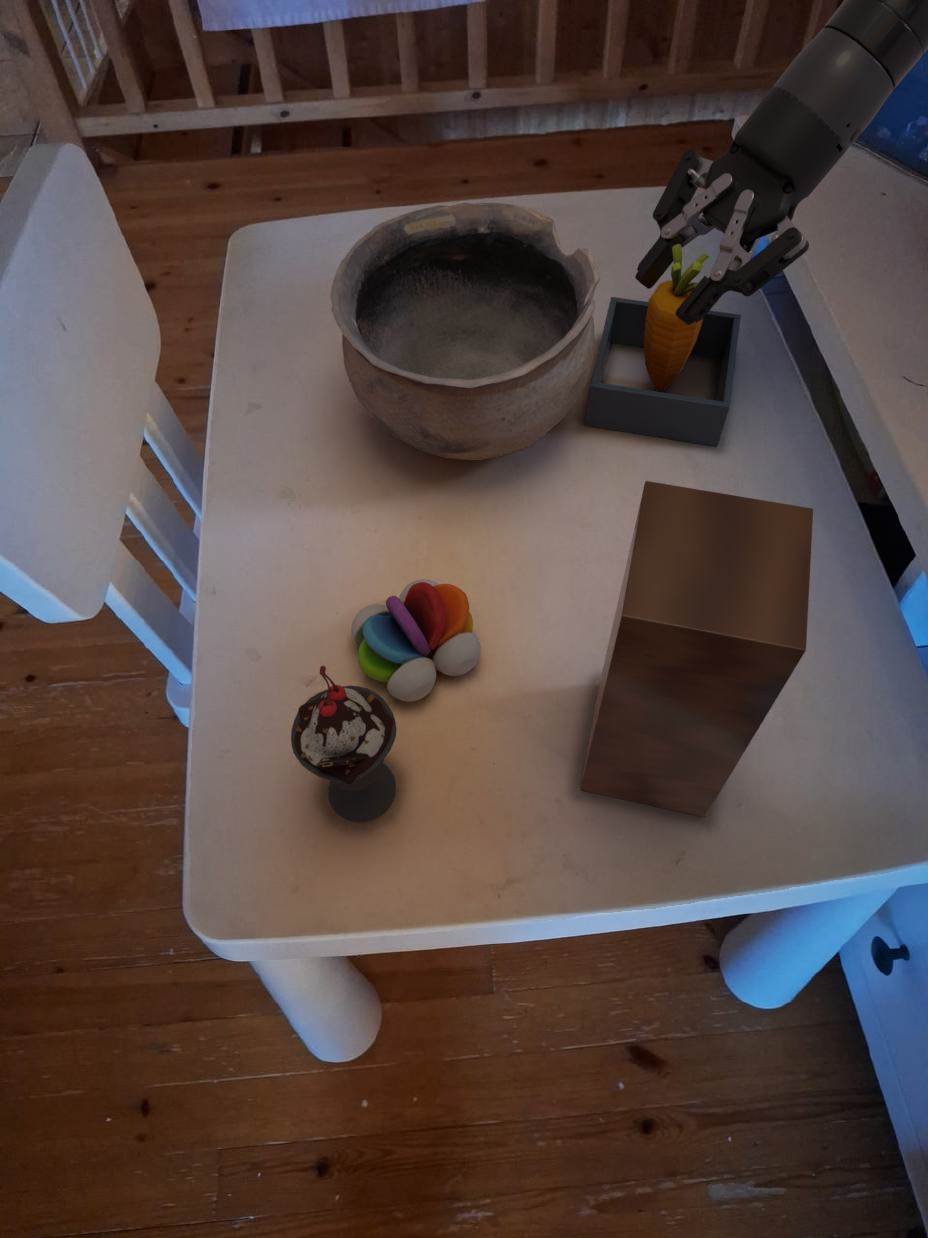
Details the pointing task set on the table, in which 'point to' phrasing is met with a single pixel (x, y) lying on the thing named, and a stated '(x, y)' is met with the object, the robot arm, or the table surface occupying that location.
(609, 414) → the square storage tray
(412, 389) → the ceramic bowl
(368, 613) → the rainbow cloud toy
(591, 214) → the table surface
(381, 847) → the table surface
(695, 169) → the robot arm
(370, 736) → the sundae
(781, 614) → the block
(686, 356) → the carrot
